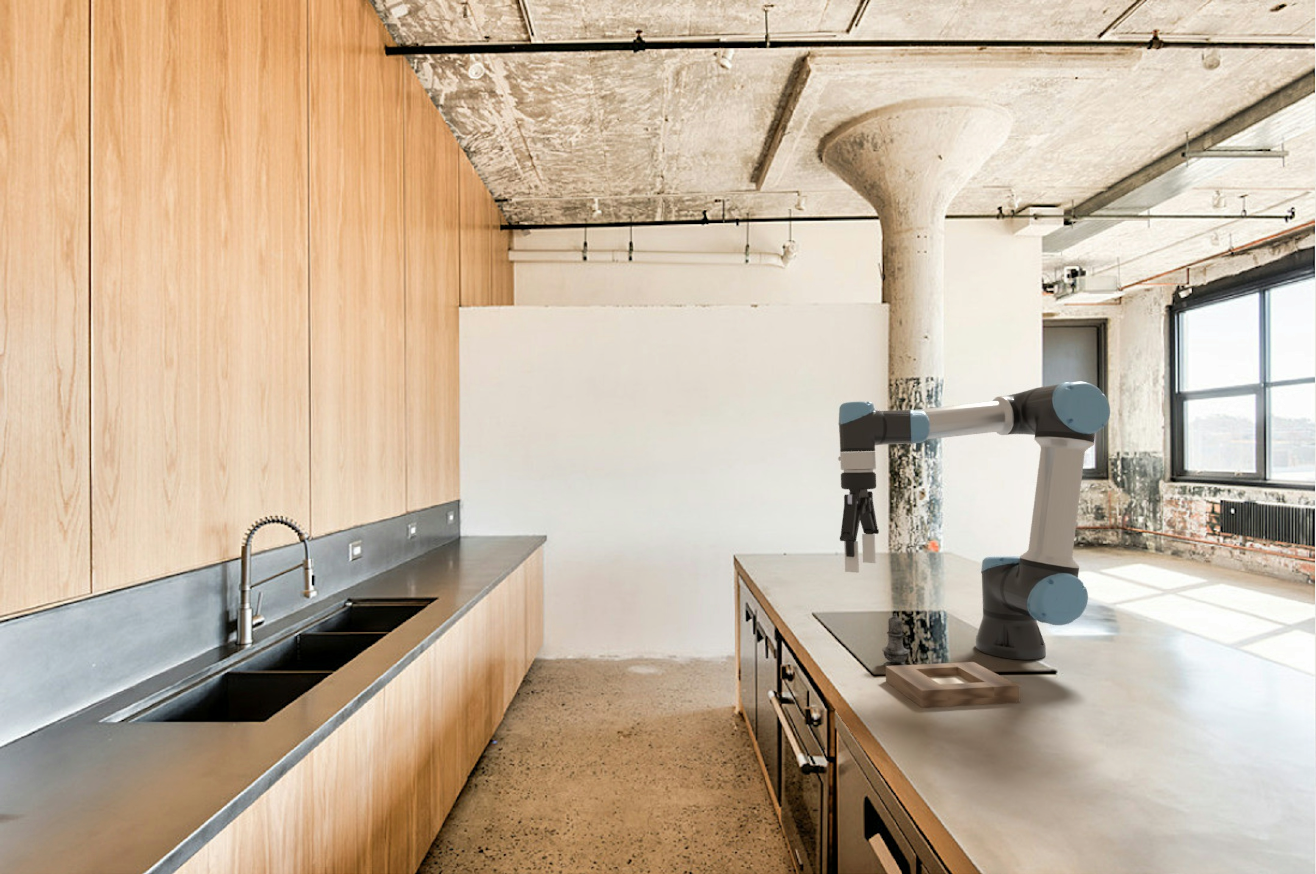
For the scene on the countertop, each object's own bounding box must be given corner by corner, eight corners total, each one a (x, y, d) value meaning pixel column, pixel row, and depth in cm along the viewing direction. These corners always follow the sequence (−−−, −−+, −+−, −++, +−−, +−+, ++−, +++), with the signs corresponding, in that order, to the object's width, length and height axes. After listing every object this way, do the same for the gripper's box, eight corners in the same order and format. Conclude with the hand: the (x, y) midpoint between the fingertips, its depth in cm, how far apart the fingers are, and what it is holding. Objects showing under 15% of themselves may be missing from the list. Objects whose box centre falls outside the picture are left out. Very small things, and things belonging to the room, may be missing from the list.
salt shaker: (905, 671, 147) (904, 617, 147) (878, 667, 150) (877, 613, 151) (912, 665, 151) (911, 612, 152) (887, 660, 155) (886, 609, 155)
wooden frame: (973, 676, 143) (973, 661, 143) (1019, 702, 128) (1019, 685, 128) (885, 681, 141) (885, 666, 141) (922, 707, 126) (922, 690, 126)
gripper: (857, 469, 160) (860, 558, 159) (823, 473, 139) (826, 574, 138) (889, 469, 156) (892, 560, 155) (859, 473, 135) (862, 577, 134)
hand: (861, 567), depth 147 cm, fingers open, 13 cm apart
